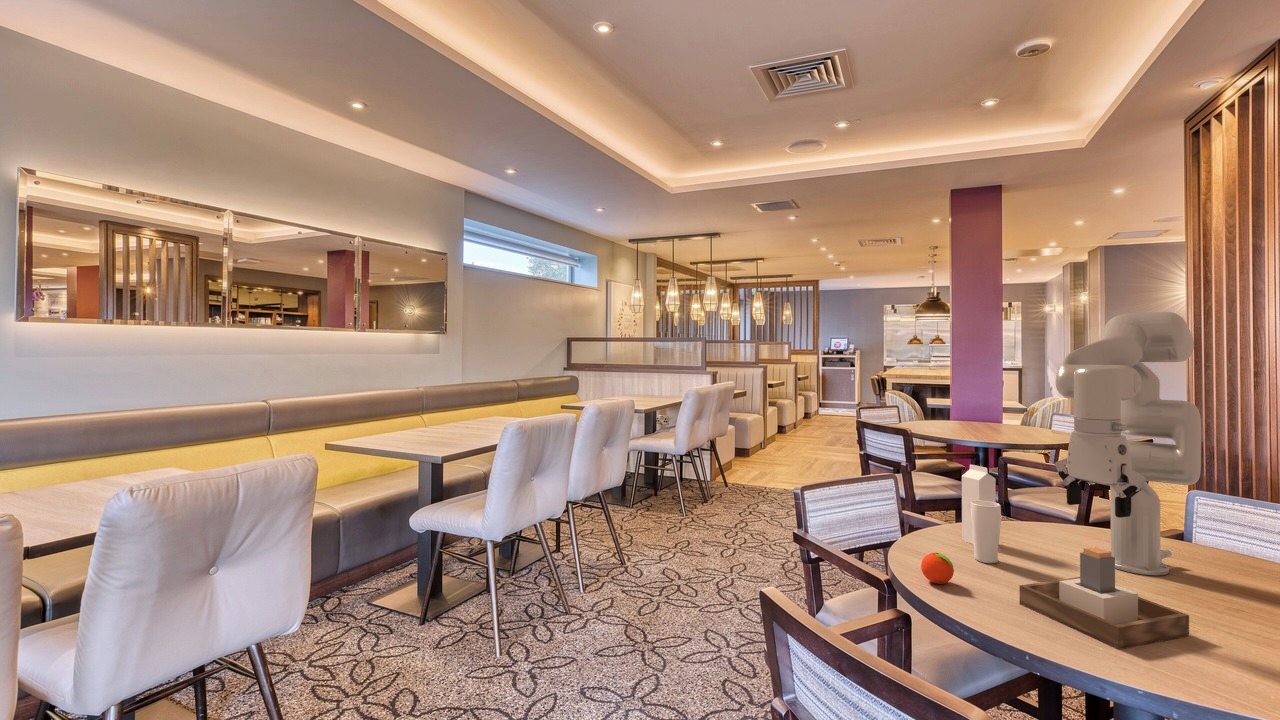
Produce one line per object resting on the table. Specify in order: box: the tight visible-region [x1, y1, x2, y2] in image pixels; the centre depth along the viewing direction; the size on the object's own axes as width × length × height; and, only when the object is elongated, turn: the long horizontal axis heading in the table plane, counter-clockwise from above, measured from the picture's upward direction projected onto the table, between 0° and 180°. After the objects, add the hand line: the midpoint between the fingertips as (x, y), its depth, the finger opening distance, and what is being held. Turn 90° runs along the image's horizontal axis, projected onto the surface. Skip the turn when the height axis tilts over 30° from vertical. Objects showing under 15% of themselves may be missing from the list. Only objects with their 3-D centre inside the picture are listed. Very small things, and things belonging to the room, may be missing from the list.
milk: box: [961, 464, 997, 545], centre depth 164 cm, size 6×6×22 cm
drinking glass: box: [971, 500, 1002, 564], centre depth 150 cm, size 7×7×15 cm
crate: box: [1018, 576, 1190, 650], centre depth 116 cm, size 18×20×4 cm
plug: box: [1079, 546, 1116, 594], centre depth 118 cm, size 4×4×11 cm
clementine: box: [920, 552, 955, 585], centre depth 135 cm, size 8×7×7 cm
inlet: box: [1059, 578, 1139, 624], centre depth 118 cm, size 9×9×5 cm
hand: (1097, 510), depth 118 cm, fingers open, 9 cm apart
